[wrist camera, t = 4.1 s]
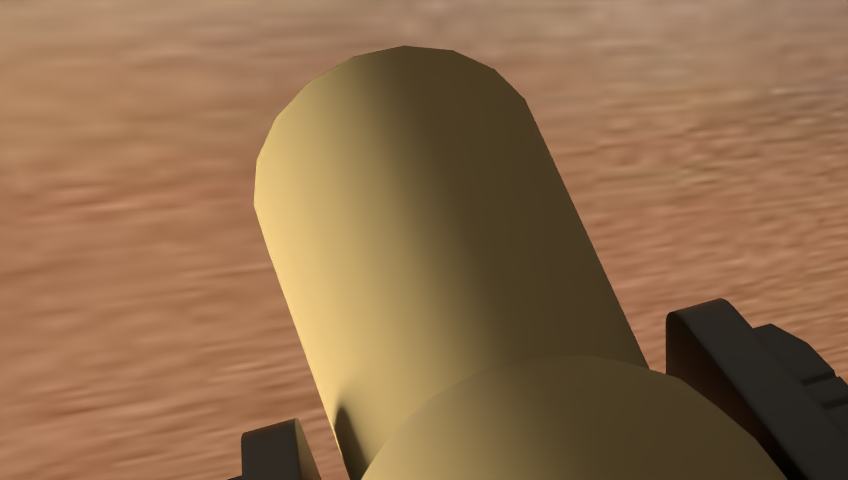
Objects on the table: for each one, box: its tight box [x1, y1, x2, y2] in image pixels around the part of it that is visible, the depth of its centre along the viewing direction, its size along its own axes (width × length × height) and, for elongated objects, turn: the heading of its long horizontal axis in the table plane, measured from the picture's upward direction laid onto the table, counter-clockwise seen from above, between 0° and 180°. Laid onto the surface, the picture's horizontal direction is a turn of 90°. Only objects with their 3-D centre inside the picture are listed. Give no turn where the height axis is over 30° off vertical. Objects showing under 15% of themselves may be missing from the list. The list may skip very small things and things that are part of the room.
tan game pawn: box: [254, 46, 788, 480], centre depth 12 cm, size 6×6×11 cm
